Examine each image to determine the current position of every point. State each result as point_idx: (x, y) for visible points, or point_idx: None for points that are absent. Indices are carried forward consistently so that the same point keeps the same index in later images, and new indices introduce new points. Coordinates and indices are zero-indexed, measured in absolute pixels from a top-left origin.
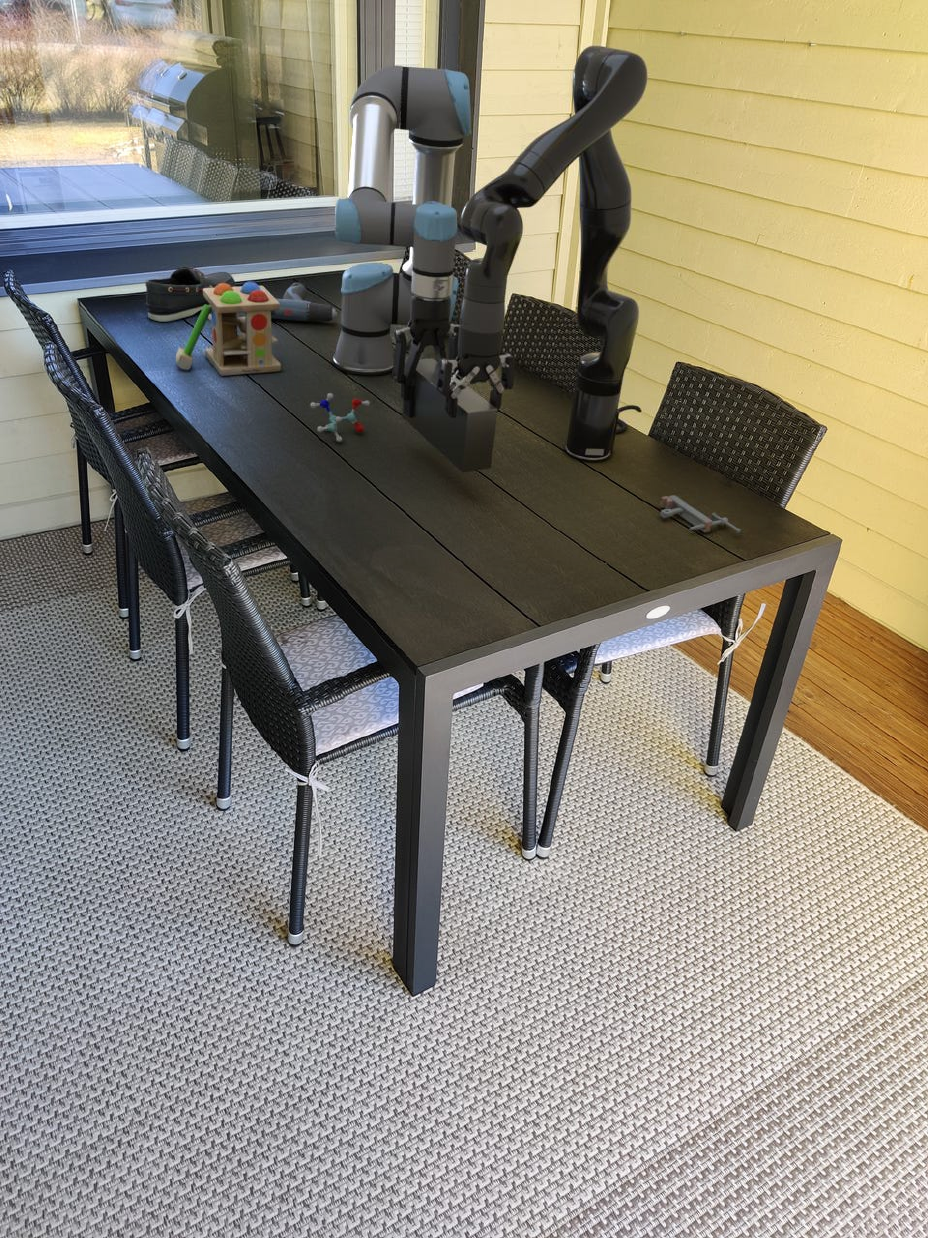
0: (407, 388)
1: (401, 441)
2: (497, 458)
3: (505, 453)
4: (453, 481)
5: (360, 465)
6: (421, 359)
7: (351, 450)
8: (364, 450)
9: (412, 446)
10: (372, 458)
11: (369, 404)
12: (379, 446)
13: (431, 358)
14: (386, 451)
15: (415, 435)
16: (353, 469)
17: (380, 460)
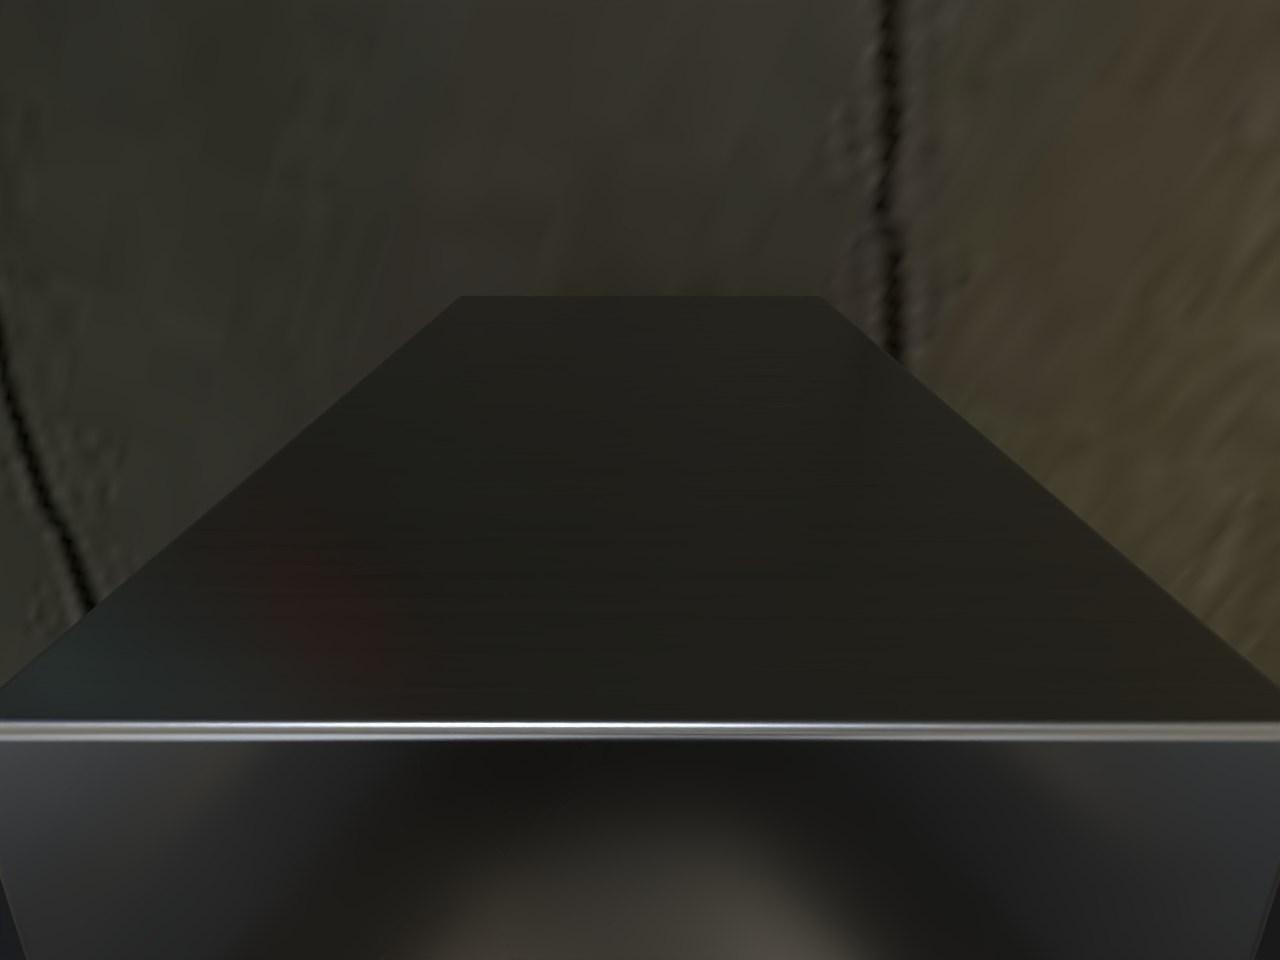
0: None
1: (584, 103)
2: None
3: (1268, 578)
4: None
5: (99, 439)
6: (761, 757)
7: (77, 149)
8: (193, 185)
9: (635, 238)
10: (223, 353)
11: None
12: (349, 146)
13: (1256, 764)
14: (378, 264)
15: (771, 10)
16: (32, 483)
17: (278, 405)
